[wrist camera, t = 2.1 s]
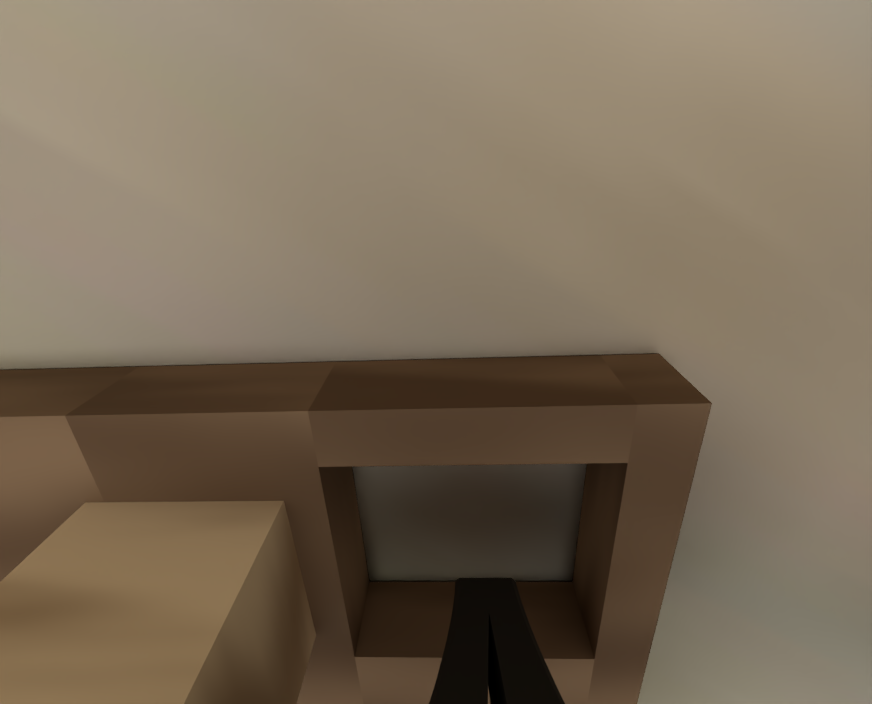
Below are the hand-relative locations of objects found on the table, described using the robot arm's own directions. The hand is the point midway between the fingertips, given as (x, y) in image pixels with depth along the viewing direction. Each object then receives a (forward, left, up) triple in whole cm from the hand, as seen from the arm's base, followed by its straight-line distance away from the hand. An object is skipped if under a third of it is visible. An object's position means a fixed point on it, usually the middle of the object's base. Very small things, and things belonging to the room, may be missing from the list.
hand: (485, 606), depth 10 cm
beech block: (0, +7, -1) cm, 7 cm away
